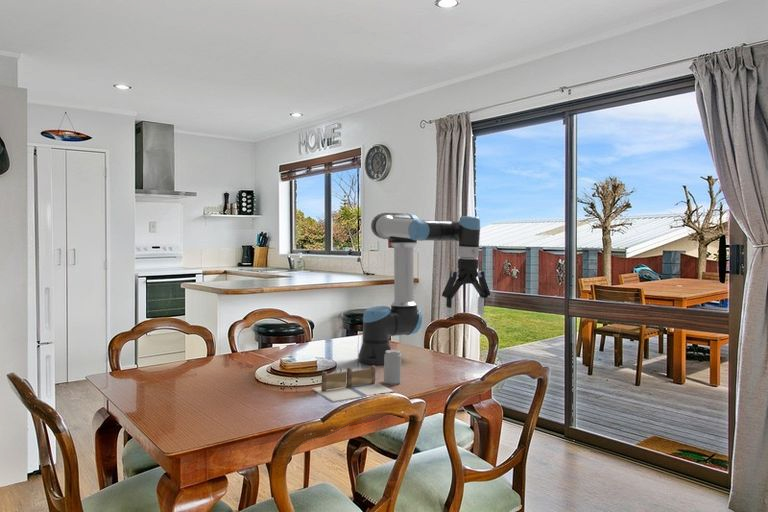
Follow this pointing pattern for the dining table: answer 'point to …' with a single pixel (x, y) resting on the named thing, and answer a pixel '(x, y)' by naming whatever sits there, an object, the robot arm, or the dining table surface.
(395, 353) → the beverage can
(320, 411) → the dining table surface
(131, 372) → the dining table surface
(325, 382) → the fence panel
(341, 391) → the card
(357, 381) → the fence fixed
